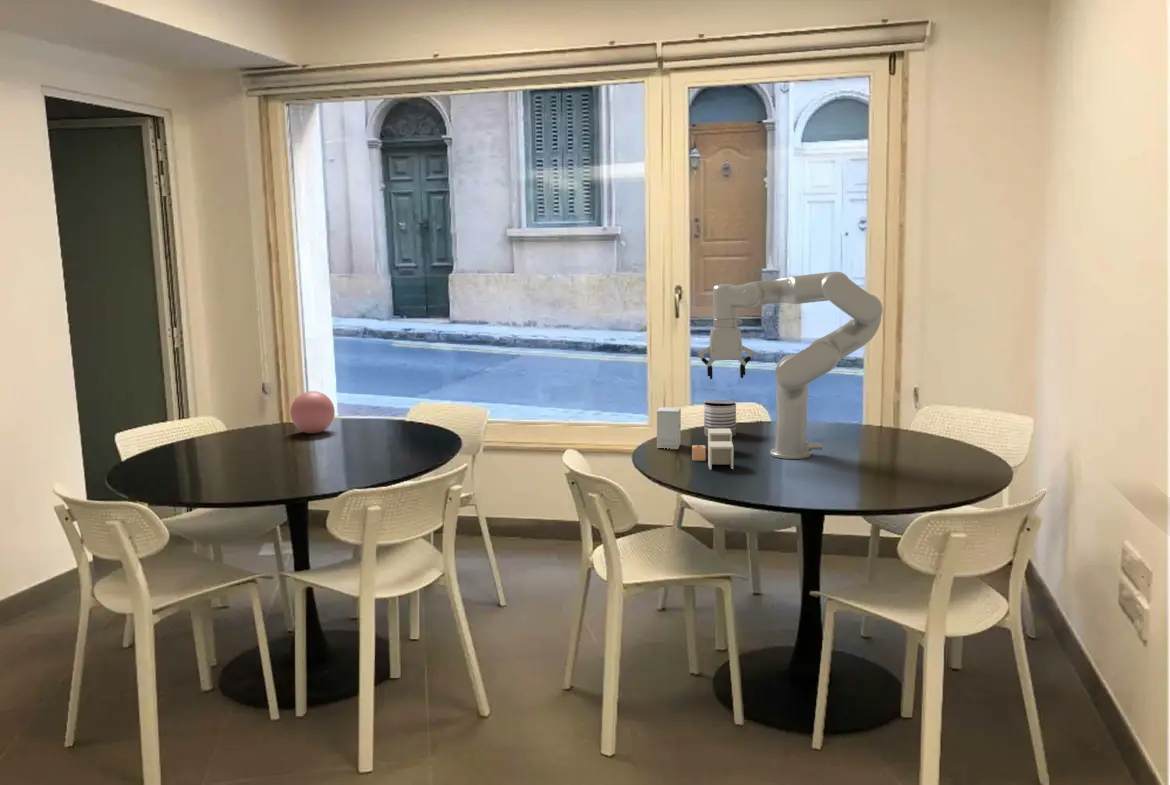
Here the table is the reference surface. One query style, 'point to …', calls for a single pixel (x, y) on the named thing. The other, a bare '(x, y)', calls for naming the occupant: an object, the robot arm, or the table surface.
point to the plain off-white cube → (720, 453)
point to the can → (719, 415)
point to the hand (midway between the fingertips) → (726, 378)
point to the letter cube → (698, 452)
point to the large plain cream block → (720, 434)
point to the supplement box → (669, 428)
